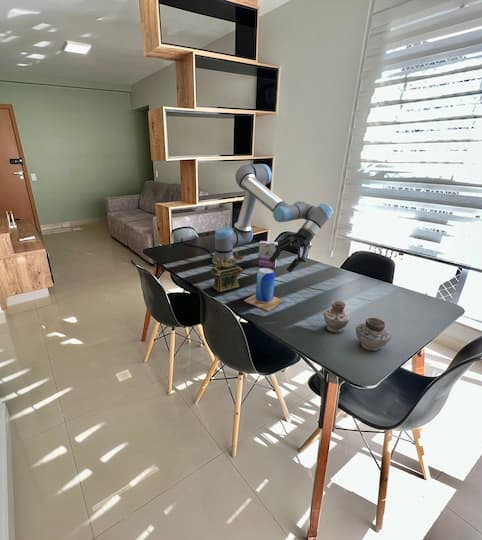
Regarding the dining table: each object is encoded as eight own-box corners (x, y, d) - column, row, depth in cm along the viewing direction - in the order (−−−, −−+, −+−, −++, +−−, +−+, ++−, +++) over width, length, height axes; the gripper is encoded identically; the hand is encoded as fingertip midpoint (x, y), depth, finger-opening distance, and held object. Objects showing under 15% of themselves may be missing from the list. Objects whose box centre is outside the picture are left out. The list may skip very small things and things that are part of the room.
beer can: (262, 305, 137) (264, 275, 131) (251, 298, 144) (253, 269, 138) (276, 301, 141) (279, 271, 135) (265, 294, 148) (267, 265, 142)
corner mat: (243, 301, 143) (243, 300, 142) (260, 292, 152) (260, 291, 151) (267, 311, 133) (267, 310, 133) (283, 301, 142) (284, 300, 142)
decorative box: (217, 293, 151) (217, 258, 144) (208, 286, 159) (208, 253, 152) (248, 285, 159) (250, 252, 152) (238, 279, 167) (239, 247, 160)
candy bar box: (276, 266, 186) (278, 241, 180) (274, 268, 182) (277, 244, 176) (258, 264, 190) (260, 240, 184) (257, 266, 186) (258, 242, 180)
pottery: (330, 319, 126) (334, 295, 122) (392, 348, 107) (400, 320, 103) (315, 328, 120) (319, 303, 115) (378, 360, 101) (385, 331, 97)
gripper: (330, 243, 130) (300, 279, 130) (293, 231, 151) (267, 262, 151) (323, 233, 126) (292, 270, 126) (286, 222, 147) (260, 254, 148)
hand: (279, 266), depth 139 cm, fingers open, 13 cm apart
